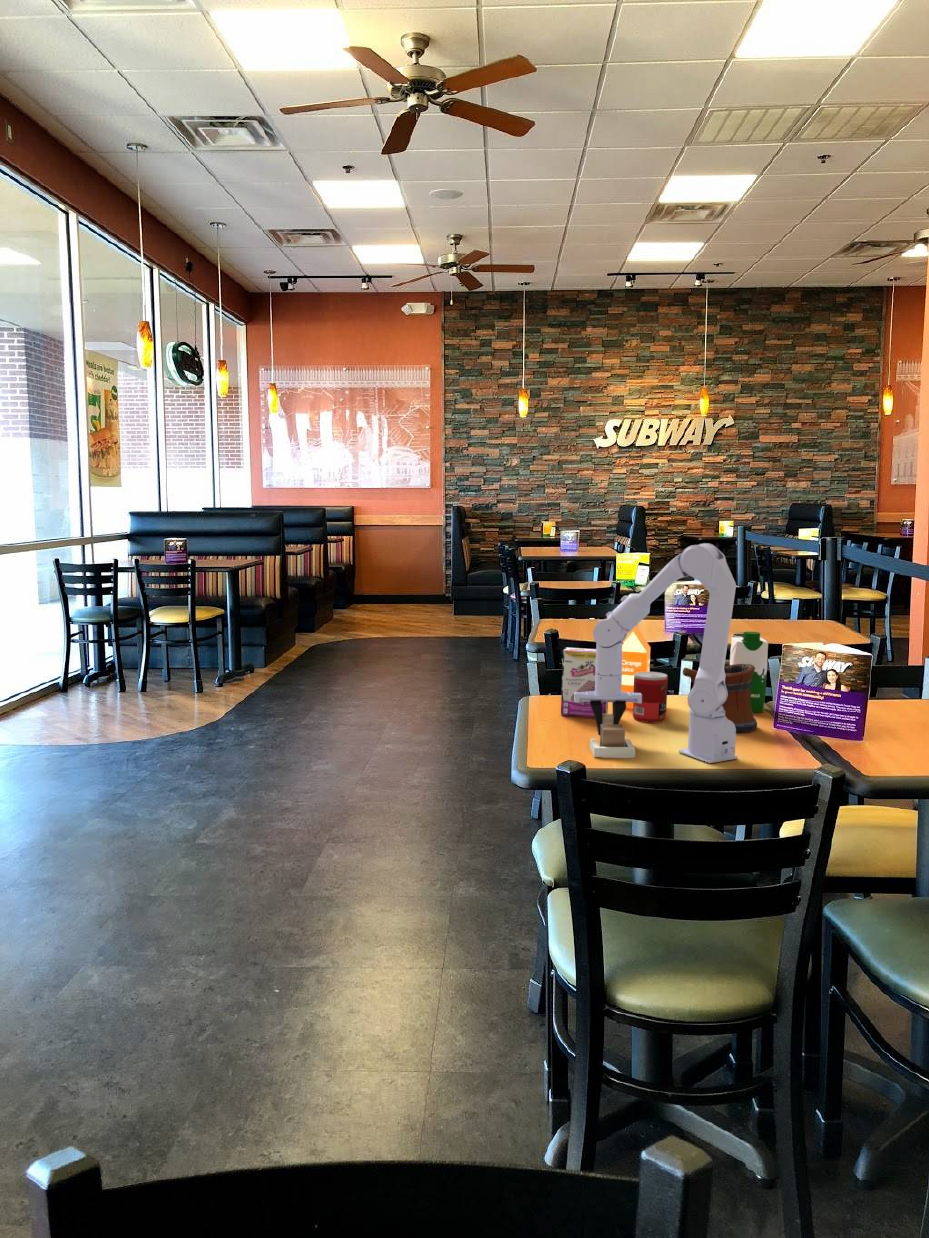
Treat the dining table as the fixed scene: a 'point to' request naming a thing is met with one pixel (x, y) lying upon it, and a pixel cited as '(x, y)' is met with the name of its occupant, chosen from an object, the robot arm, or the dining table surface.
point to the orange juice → (634, 660)
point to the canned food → (650, 696)
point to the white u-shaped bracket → (612, 750)
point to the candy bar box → (578, 681)
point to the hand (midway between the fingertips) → (606, 734)
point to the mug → (736, 695)
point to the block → (611, 732)
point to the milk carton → (753, 653)
